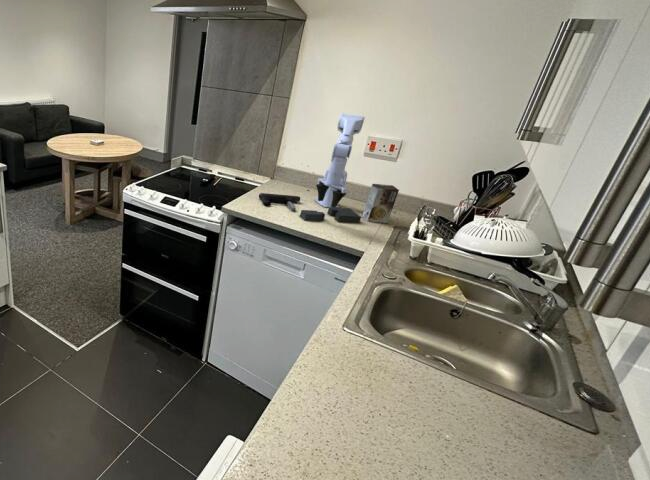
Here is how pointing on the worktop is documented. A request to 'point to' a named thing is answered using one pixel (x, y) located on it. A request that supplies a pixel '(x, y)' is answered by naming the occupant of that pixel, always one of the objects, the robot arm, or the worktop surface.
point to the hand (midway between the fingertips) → (326, 203)
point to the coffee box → (380, 203)
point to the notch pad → (344, 215)
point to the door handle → (279, 200)
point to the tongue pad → (312, 215)
